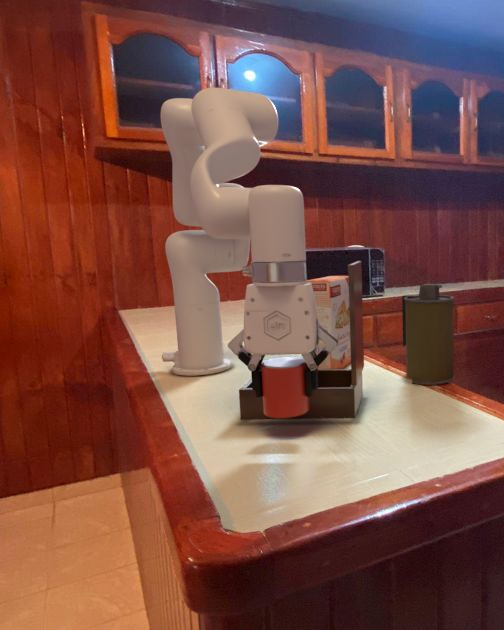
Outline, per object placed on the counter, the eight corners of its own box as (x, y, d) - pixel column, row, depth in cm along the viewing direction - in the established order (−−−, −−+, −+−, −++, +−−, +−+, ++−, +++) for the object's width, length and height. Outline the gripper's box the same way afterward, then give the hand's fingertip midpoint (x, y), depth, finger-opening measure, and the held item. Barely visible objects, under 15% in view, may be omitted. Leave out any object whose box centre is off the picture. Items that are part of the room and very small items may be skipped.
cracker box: (334, 376, 114) (331, 280, 111) (308, 375, 116) (304, 279, 113) (354, 361, 128) (352, 275, 125) (331, 360, 129) (328, 274, 126)
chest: (240, 424, 86) (238, 389, 85) (263, 400, 98) (261, 369, 98) (355, 422, 86) (354, 388, 85) (362, 399, 98) (362, 368, 98)
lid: (347, 265, 82) (353, 265, 82) (356, 261, 95) (361, 261, 95) (351, 385, 85) (356, 385, 85) (359, 366, 98) (364, 366, 98)
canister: (460, 374, 115) (460, 282, 112) (446, 387, 105) (446, 287, 102) (413, 370, 119) (412, 281, 116) (396, 382, 109) (394, 286, 106)
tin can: (258, 418, 75) (255, 367, 74) (270, 403, 82) (268, 356, 81) (304, 417, 75) (302, 366, 74) (313, 403, 82) (311, 356, 81)
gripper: (209, 276, 72) (218, 403, 75) (336, 275, 72) (340, 401, 75) (228, 273, 79) (235, 388, 82) (344, 271, 79) (347, 386, 82)
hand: (285, 393), depth 78 cm, fingers closed on tin can, 6 cm apart
